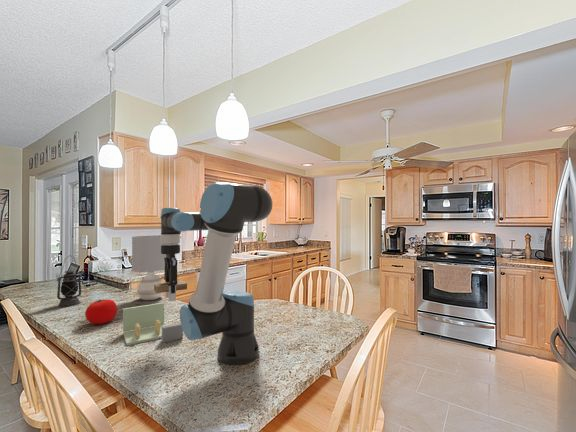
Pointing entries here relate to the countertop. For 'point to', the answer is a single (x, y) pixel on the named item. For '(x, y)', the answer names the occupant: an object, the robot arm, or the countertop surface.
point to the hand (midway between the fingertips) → (170, 298)
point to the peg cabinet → (143, 323)
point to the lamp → (148, 264)
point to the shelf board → (165, 288)
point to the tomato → (101, 311)
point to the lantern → (69, 288)
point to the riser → (172, 332)
